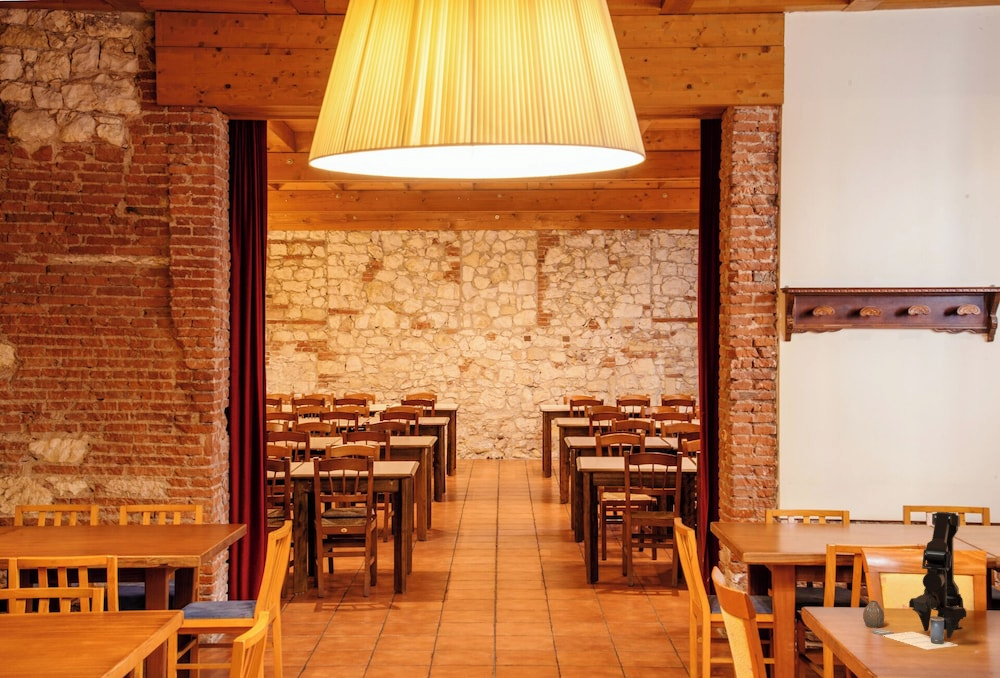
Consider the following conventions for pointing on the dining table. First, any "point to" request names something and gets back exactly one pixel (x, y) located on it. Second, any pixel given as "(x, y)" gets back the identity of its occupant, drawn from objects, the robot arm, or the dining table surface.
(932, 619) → the grey capped bottle
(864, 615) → the vase
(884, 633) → the grey striped tile
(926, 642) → the paper
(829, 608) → the dining table surface
